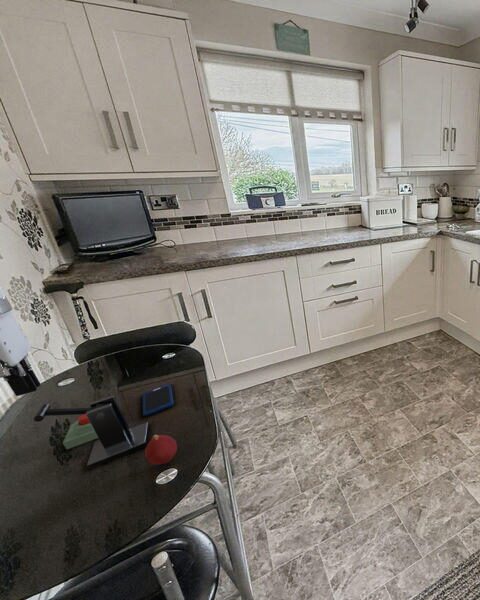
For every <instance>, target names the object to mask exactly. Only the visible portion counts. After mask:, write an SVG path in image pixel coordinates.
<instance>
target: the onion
mask: <svg viewBox="0 0 480 600" xmlns="http://www.w3.org/2000/svg"><path fill="white" fill-rule="evenodd" d="M177 451H178V444H177V441H176V440H175V438H173V437H172V436H170V435H165V434H159V435H158V434H154V435H153V436H152V438H151V440H150V441H149V442H147V446H146V447H145V450H144V456H145V459H146V461H147V462H148V463H150V464H152V465H154V466H155V465H160V466H161V465H166V464H169V463H170V462H171V461H172V459H173V458H174V457H175V456H176V454H177Z"/></svg>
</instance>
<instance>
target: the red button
mask: <svg viewBox="0 0 480 600" xmlns="http://www.w3.org/2000/svg"><path fill="white" fill-rule="evenodd" d="M77 420H78V421H79V423H80V424H81V425H85V424H88V423H90V421H89V419H88V417H87V416H86V414H80V415H79V416H78V418H77Z"/></svg>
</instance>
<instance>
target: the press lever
mask: <svg viewBox="0 0 480 600" xmlns="http://www.w3.org/2000/svg"><path fill="white" fill-rule="evenodd" d="M108 404H111V405H112V403H106V404H97V405H96V408H99V407H102V406H105V405H108ZM51 407H52V405H51V404H50V403H44V404H42V405H41V407H40V408H39V410H38V411H37V413H36V414H35V416H34V417H33V421H34V422H37V423H38V422H42V421H43V420H45V417H47V416H71V415H82V414H86V412H87V411H90V410H93V409H96V408H91V407H73V408H72V407H71V408H70V407H69V408H51Z"/></svg>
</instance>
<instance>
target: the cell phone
mask: <svg viewBox="0 0 480 600" xmlns="http://www.w3.org/2000/svg"><path fill="white" fill-rule="evenodd" d="M174 405H175V402H174V396H173V390H172V385H171V384H170V383H167V384H165V385H162V386H159V387H156V388H154V389H151V390H148V391H145V392H143V393H142V415H143V417H149V416H150V415H151V416H152V415H153V414H156V413H158V412H160V411H163V410H166V409H168V408H171V407H173V406H174Z"/></svg>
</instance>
